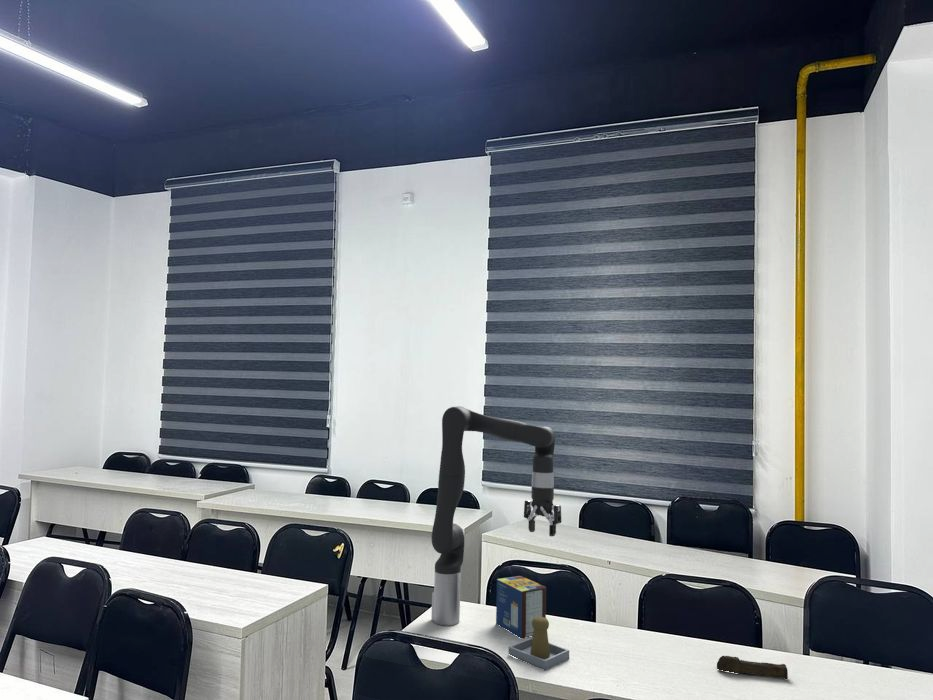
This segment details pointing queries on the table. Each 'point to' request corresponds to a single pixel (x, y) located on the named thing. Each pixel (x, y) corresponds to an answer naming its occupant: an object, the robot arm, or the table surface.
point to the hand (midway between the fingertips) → (542, 533)
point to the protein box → (519, 604)
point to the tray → (523, 654)
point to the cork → (540, 638)
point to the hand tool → (752, 667)
